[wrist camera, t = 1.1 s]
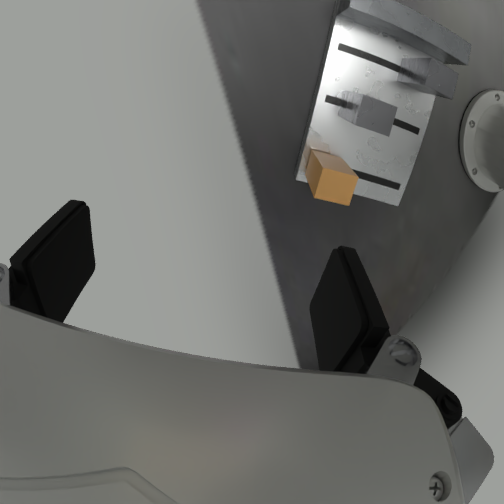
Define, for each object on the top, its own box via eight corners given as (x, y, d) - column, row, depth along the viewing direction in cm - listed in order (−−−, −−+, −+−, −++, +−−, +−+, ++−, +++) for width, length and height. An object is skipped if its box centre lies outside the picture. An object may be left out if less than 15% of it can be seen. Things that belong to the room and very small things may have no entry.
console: (437, 45, 19) (479, 44, 13) (391, 199, 29) (419, 232, 23) (336, 1, 18) (359, -20, 12) (293, 173, 28) (302, 203, 22)
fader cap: (341, 157, 24) (358, 177, 20) (334, 181, 26) (348, 205, 21) (311, 149, 24) (323, 167, 20) (304, 174, 25) (314, 197, 21)
